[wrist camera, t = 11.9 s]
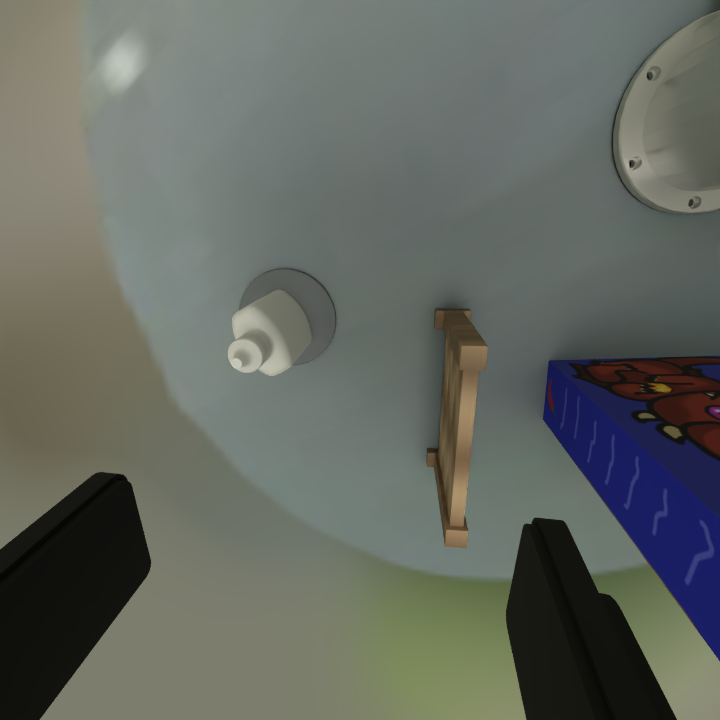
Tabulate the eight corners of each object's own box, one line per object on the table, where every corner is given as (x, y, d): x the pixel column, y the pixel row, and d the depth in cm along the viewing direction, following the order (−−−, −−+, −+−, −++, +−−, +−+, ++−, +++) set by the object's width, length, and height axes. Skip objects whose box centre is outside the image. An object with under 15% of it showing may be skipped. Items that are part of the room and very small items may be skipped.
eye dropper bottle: (268, 347, 37) (209, 402, 25) (262, 288, 35) (196, 318, 23) (313, 348, 36) (273, 405, 25) (310, 288, 34) (266, 320, 23)
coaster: (236, 268, 35) (233, 269, 34) (334, 268, 34) (333, 269, 33) (247, 362, 38) (244, 364, 37) (337, 364, 37) (336, 366, 36)
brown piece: (435, 309, 34) (450, 345, 24) (469, 309, 34) (499, 346, 24) (426, 462, 40) (435, 545, 29) (456, 463, 39) (476, 548, 29)
